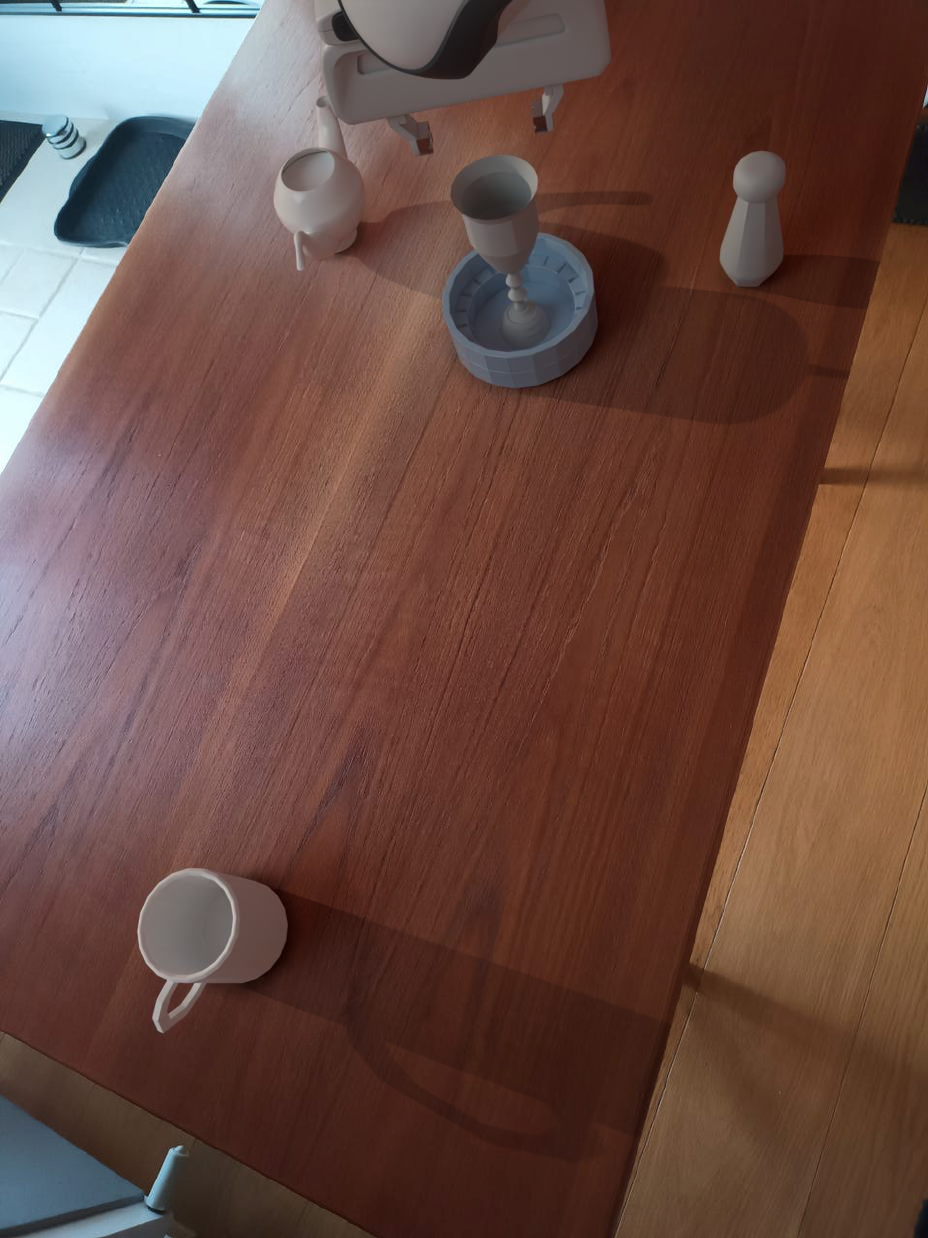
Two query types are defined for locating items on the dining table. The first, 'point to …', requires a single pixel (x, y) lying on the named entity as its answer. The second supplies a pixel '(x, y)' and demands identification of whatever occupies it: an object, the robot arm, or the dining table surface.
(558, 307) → the bowl
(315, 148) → the teapot
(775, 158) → the salt shaker
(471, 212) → the chalice
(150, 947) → the mug
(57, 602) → the dining table surface
